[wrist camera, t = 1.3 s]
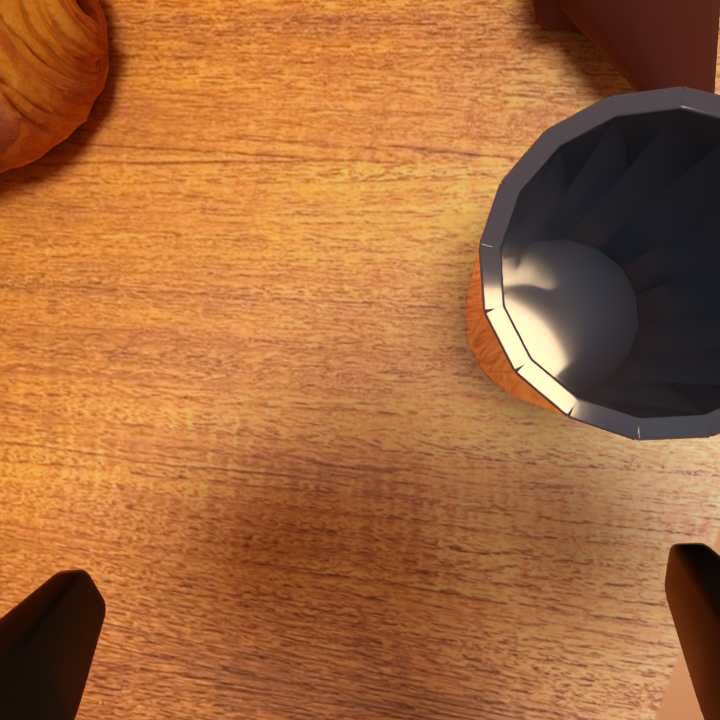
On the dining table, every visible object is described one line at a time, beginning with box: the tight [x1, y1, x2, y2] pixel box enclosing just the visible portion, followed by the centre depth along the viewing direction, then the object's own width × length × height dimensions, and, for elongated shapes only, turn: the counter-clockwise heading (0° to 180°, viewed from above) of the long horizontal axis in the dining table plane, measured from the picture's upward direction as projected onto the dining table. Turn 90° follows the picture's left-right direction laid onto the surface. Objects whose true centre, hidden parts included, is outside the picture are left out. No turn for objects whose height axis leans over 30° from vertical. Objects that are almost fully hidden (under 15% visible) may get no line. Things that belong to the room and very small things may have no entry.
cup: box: [465, 87, 720, 441], centre depth 17 cm, size 7×7×12 cm
